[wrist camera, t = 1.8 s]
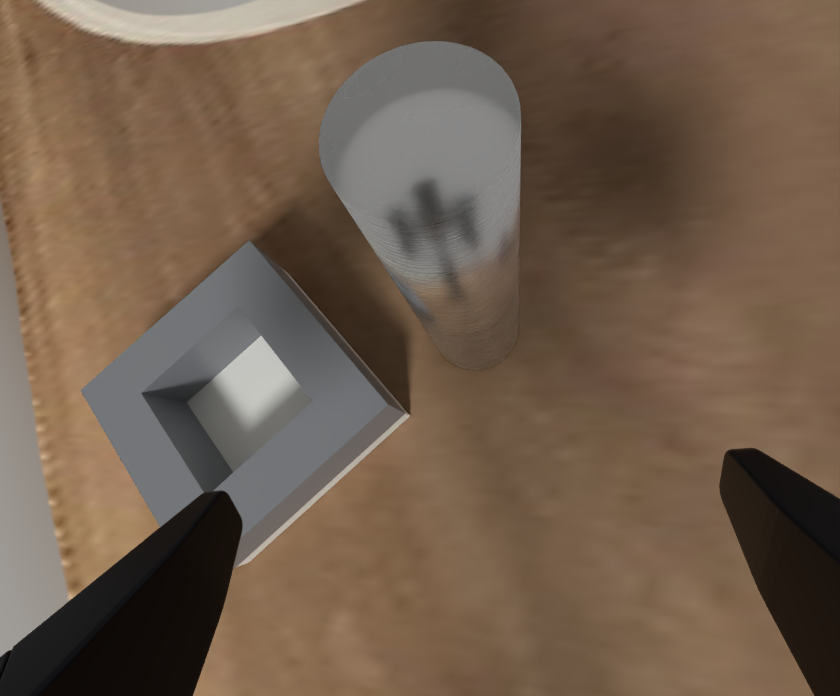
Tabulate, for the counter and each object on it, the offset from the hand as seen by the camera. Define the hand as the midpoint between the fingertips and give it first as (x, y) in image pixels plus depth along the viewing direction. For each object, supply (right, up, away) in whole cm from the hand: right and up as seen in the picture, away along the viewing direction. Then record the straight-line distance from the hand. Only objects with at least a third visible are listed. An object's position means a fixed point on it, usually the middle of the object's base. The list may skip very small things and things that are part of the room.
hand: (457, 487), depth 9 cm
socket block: (-8, 0, +15) cm, 17 cm away
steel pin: (+2, +3, +14) cm, 14 cm away
